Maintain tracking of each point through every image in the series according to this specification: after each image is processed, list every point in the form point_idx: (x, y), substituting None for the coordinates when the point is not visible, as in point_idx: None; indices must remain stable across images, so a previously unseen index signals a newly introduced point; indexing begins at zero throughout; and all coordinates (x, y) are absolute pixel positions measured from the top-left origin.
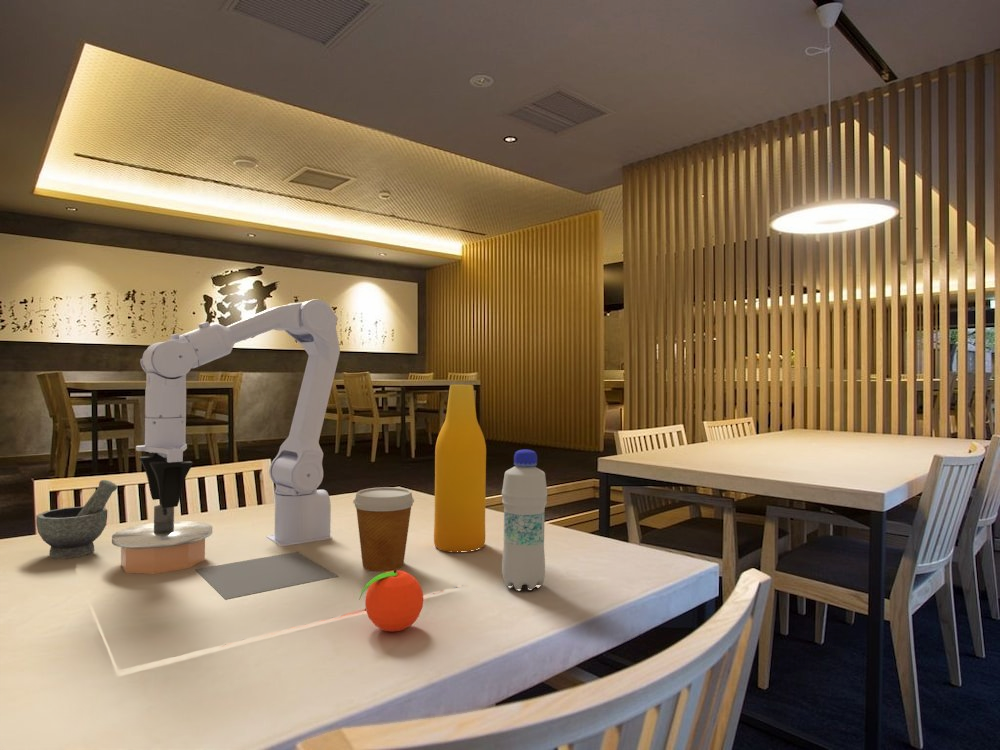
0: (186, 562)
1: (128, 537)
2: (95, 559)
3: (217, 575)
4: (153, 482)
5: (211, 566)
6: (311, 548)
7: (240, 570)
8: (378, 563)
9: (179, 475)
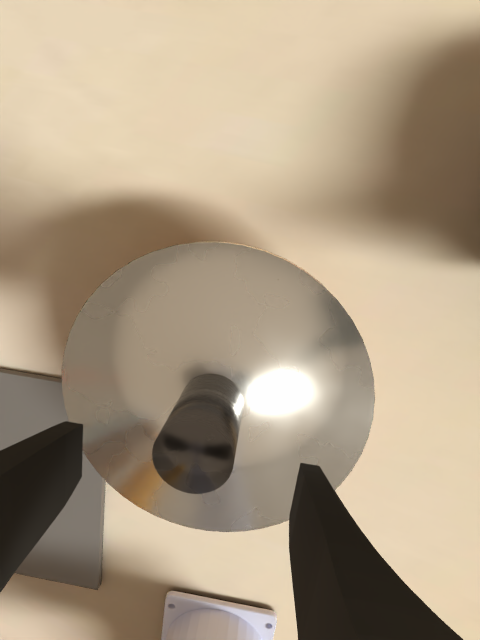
0: None
1: (203, 289)
2: (433, 245)
3: (25, 403)
4: (313, 540)
5: None
6: (129, 622)
7: None
8: None
9: None
